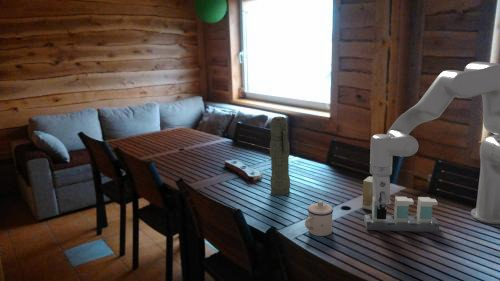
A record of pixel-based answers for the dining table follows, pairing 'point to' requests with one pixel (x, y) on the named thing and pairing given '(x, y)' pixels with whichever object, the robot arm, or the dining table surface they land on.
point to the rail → (401, 224)
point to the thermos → (279, 157)
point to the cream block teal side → (425, 209)
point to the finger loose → (374, 211)
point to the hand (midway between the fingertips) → (379, 213)
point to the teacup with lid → (319, 219)
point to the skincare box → (367, 193)
